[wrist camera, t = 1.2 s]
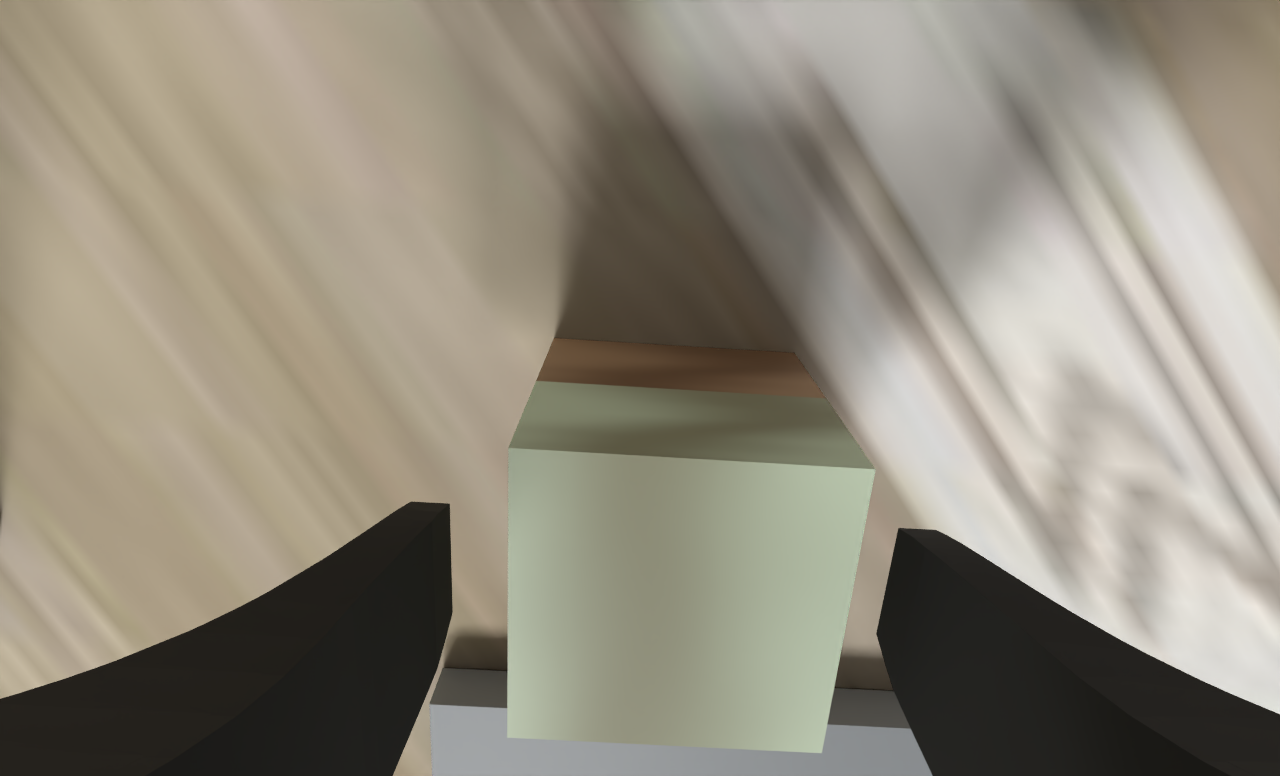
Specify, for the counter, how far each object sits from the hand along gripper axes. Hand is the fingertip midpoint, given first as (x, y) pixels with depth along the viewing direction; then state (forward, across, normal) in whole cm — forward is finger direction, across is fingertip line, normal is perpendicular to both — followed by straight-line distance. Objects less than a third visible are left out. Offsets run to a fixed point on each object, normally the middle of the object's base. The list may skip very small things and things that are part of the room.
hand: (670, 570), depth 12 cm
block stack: (+5, 0, 0) cm, 5 cm away
